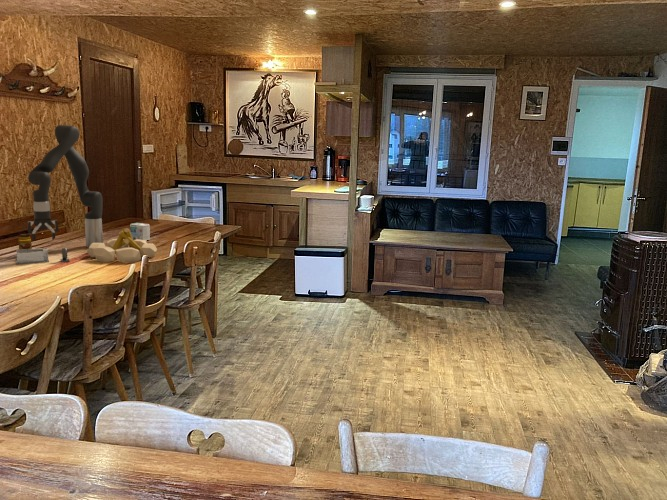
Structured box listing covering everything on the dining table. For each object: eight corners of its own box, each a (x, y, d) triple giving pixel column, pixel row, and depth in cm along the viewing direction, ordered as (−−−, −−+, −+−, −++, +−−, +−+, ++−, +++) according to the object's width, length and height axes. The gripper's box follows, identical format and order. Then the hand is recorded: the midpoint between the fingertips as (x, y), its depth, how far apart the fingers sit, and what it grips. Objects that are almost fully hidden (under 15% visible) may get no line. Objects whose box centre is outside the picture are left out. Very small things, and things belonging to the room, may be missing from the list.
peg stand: (68, 260, 291) (68, 247, 289) (69, 261, 287) (68, 248, 286) (60, 260, 289) (59, 247, 287) (61, 262, 285) (60, 249, 284)
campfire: (125, 266, 284) (124, 234, 280) (75, 259, 295) (73, 228, 291) (167, 254, 316) (167, 226, 313) (120, 248, 327) (119, 220, 324)
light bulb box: (130, 240, 352) (129, 223, 349) (137, 238, 358) (136, 222, 355) (143, 242, 348) (142, 225, 346) (150, 240, 354) (150, 224, 352)
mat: (47, 257, 296) (47, 256, 296) (49, 262, 285) (49, 261, 285) (15, 259, 288) (15, 258, 288) (16, 264, 277) (16, 263, 277)
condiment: (25, 257, 292) (24, 235, 290) (13, 256, 294) (11, 234, 292) (36, 255, 299) (35, 233, 296) (24, 253, 301) (22, 232, 299)
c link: (47, 257, 294) (46, 248, 293) (48, 260, 286) (47, 251, 285) (17, 258, 287) (16, 249, 286) (17, 262, 279) (16, 253, 278)
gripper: (26, 211, 277) (29, 242, 281) (57, 210, 284) (59, 240, 288) (26, 209, 284) (28, 239, 287) (56, 208, 291) (58, 237, 294)
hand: (44, 240), depth 288 cm, fingers open, 8 cm apart
